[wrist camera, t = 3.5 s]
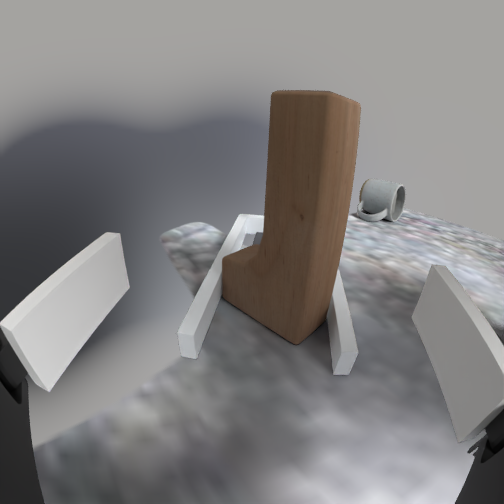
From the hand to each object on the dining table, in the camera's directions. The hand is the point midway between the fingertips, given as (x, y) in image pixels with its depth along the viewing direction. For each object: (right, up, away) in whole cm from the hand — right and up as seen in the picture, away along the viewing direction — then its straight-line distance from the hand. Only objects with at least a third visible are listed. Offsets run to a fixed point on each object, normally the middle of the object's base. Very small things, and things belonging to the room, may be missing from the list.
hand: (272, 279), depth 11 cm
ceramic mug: (+24, +8, +41) cm, 48 cm away
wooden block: (+1, -4, +14) cm, 15 cm away
